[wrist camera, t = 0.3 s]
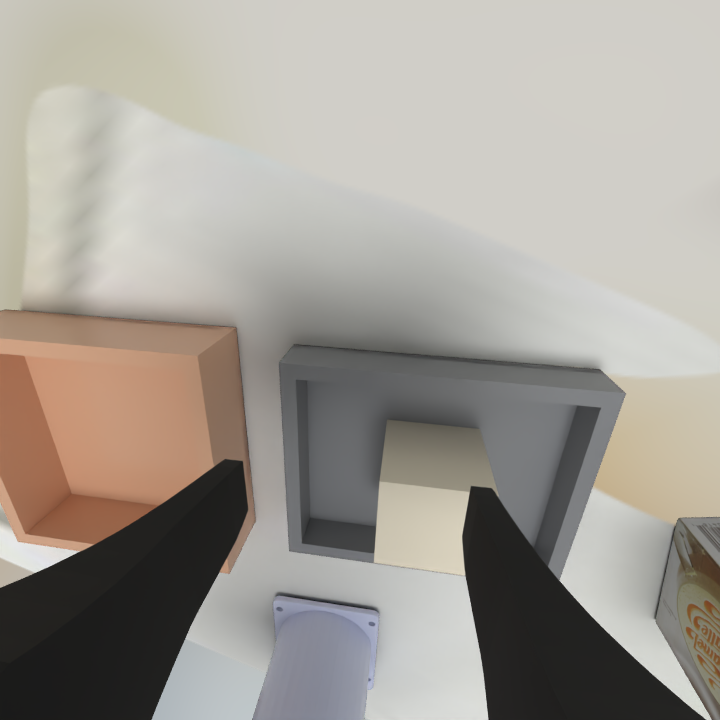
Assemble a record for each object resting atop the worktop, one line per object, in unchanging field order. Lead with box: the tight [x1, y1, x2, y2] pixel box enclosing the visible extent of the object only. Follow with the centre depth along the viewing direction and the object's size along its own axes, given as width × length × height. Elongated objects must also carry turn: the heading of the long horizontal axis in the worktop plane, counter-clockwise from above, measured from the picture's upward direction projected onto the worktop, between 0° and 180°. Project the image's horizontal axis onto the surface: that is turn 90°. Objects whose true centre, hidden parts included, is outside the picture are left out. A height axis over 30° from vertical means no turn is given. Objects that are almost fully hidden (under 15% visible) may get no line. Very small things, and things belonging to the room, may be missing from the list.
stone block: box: [374, 420, 499, 576], centre depth 19 cm, size 5×5×5 cm
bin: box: [0, 310, 255, 574], centre depth 22 cm, size 14×14×4 cm
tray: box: [279, 345, 626, 580], centre depth 21 cm, size 13×16×2 cm
